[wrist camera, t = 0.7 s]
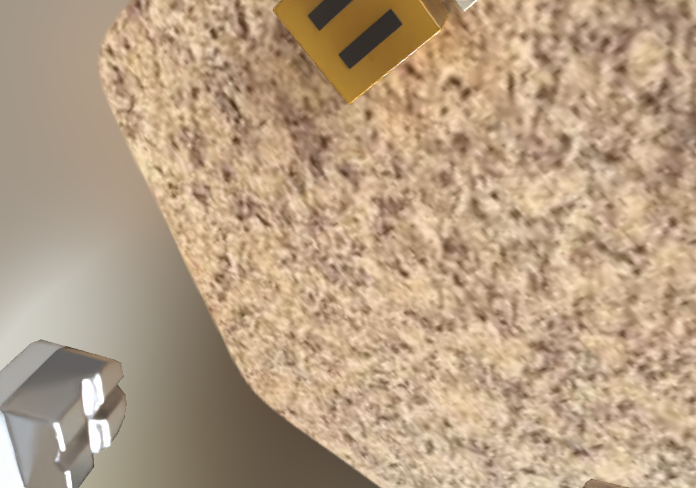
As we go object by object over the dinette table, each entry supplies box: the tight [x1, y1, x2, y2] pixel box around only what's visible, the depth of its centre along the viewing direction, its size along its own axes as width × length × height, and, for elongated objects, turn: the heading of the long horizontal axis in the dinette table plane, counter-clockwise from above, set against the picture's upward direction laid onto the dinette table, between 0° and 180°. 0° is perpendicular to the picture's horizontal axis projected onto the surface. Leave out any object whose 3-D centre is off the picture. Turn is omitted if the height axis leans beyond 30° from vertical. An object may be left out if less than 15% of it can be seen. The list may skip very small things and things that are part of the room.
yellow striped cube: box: [273, 0, 449, 104], centre depth 23 cm, size 5×5×5 cm
